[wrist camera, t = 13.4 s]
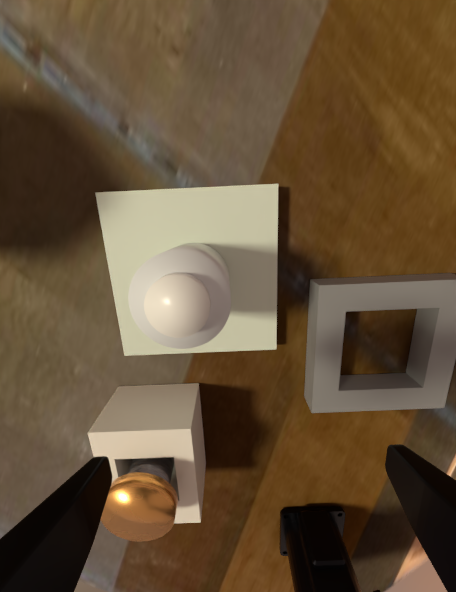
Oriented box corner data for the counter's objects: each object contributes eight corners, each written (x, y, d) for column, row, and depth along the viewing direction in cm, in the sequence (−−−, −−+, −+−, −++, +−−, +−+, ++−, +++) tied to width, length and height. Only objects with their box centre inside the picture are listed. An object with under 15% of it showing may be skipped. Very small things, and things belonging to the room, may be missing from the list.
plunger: (190, 463, 22) (178, 540, 17) (135, 465, 22) (106, 542, 17) (185, 418, 21) (170, 486, 15) (127, 421, 21) (92, 489, 15)
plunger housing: (206, 463, 24) (200, 522, 19) (134, 465, 24) (111, 525, 19) (198, 383, 22) (190, 428, 17) (118, 386, 22) (87, 432, 17)
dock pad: (274, 343, 21) (276, 349, 20) (129, 349, 21) (124, 355, 20) (275, 185, 17) (278, 183, 16) (102, 194, 17) (95, 192, 16)
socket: (425, 391, 22) (443, 407, 20) (304, 396, 22) (311, 413, 20) (449, 272, 19) (474, 278, 17) (310, 279, 19) (319, 285, 17)
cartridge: (230, 309, 19) (233, 354, 12) (163, 312, 19) (130, 358, 12) (227, 241, 17) (229, 250, 11) (155, 243, 17) (113, 254, 11)
